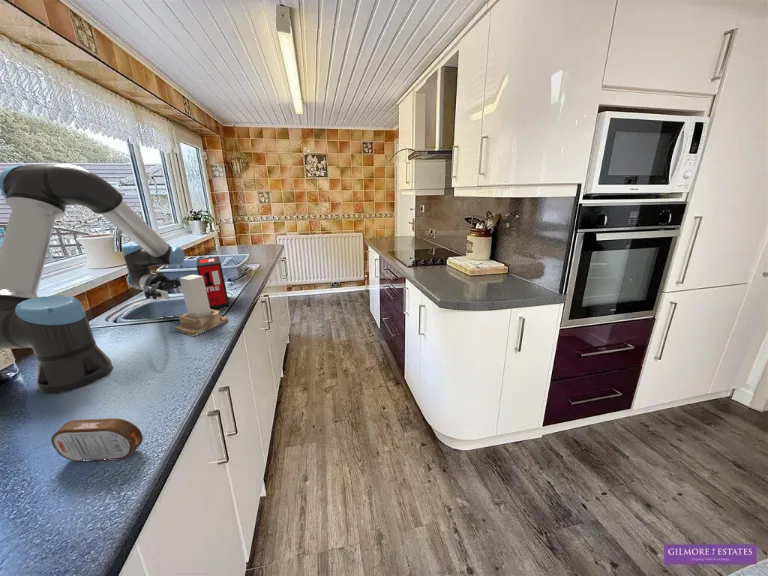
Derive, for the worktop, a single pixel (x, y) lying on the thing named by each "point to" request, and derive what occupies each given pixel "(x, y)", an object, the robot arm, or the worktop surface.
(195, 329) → the wooden box
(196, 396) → the worktop surface
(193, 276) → the white rectangular block
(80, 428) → the tin
